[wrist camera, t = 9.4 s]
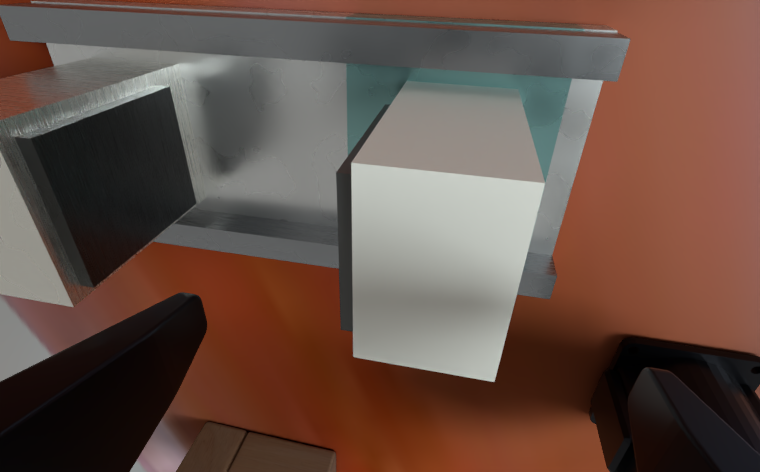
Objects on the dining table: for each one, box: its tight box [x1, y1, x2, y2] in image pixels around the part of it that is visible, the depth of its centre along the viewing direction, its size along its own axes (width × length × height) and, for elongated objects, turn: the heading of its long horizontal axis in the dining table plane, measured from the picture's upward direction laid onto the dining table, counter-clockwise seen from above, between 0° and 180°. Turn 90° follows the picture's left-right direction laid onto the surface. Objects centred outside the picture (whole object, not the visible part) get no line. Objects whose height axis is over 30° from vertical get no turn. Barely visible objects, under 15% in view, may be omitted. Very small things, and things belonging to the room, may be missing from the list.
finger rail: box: [0, 0, 630, 307], centre depth 15 cm, size 22×10×10 cm, turn 89°
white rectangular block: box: [336, 81, 545, 382], centre depth 14 cm, size 6×4×8 cm
